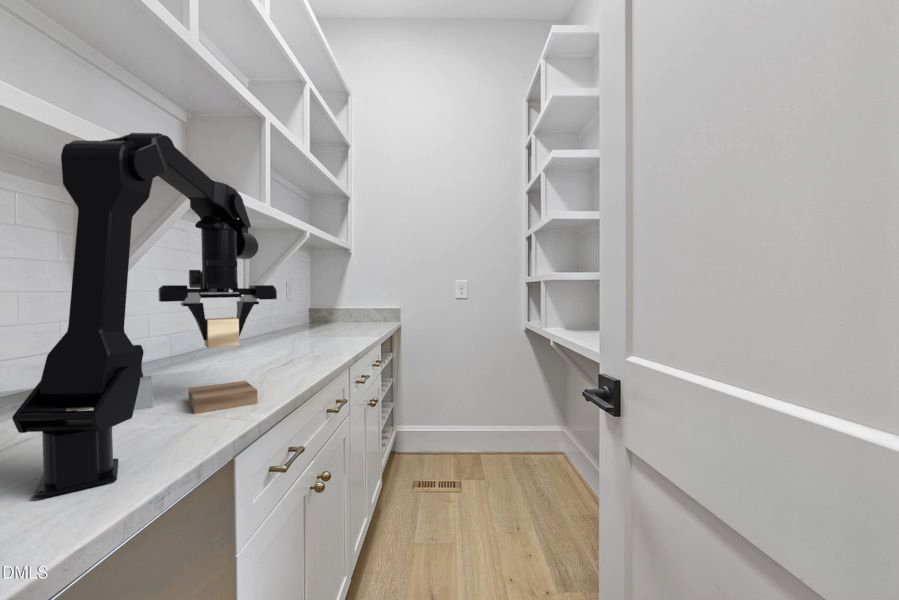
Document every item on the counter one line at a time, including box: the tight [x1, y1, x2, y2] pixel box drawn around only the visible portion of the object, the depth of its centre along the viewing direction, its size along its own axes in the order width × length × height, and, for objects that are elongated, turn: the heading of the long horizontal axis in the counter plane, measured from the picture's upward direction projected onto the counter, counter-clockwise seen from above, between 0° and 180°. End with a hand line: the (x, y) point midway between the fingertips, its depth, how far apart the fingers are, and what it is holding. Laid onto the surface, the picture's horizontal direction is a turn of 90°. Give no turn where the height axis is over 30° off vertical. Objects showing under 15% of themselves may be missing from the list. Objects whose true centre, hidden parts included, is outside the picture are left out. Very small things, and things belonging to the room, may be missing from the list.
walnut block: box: [187, 380, 258, 415], centre depth 76 cm, size 10×10×3 cm
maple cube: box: [203, 316, 240, 349], centre depth 75 cm, size 5×5×5 cm
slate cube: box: [134, 375, 154, 411], centre depth 73 cm, size 5×5×5 cm
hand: (221, 338), depth 75 cm, fingers closed on maple cube, 5 cm apart
